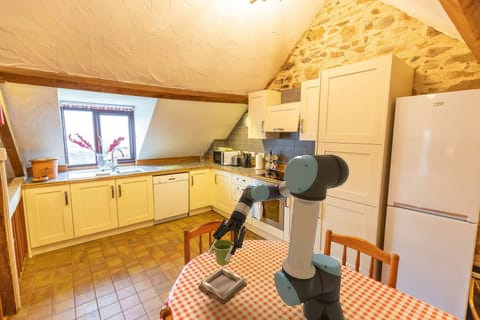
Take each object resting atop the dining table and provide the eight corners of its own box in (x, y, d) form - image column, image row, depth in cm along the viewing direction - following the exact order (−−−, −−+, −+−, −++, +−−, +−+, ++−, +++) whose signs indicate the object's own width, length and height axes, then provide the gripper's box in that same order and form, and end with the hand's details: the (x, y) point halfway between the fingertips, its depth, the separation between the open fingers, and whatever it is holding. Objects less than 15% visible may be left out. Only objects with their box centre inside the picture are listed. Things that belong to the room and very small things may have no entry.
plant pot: (232, 268, 99) (232, 249, 98) (211, 267, 100) (211, 249, 99) (233, 256, 109) (233, 239, 108) (214, 256, 109) (214, 239, 108)
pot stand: (246, 284, 107) (246, 278, 106) (223, 304, 94) (223, 297, 94) (221, 271, 117) (221, 265, 116) (198, 287, 104) (198, 281, 104)
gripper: (261, 222, 107) (241, 269, 97) (227, 212, 121) (205, 252, 110) (255, 215, 103) (233, 263, 92) (220, 205, 116) (197, 246, 106)
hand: (218, 257), depth 101 cm, fingers closed on plant pot, 9 cm apart
